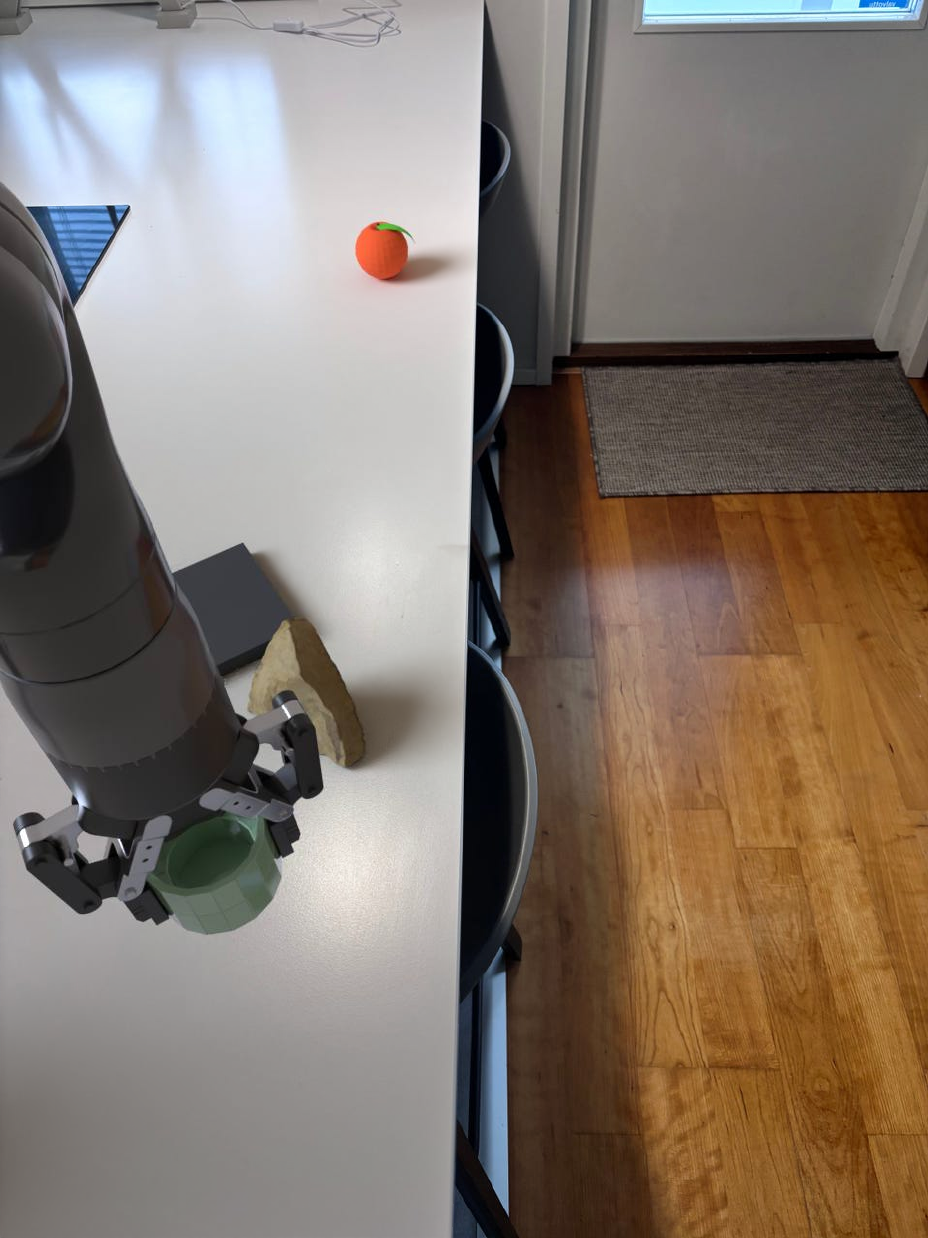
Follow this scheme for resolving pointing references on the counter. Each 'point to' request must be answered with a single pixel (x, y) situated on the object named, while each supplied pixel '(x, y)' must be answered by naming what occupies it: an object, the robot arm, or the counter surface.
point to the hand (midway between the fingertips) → (221, 874)
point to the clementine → (382, 249)
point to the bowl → (218, 874)
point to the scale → (233, 606)
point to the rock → (310, 689)
